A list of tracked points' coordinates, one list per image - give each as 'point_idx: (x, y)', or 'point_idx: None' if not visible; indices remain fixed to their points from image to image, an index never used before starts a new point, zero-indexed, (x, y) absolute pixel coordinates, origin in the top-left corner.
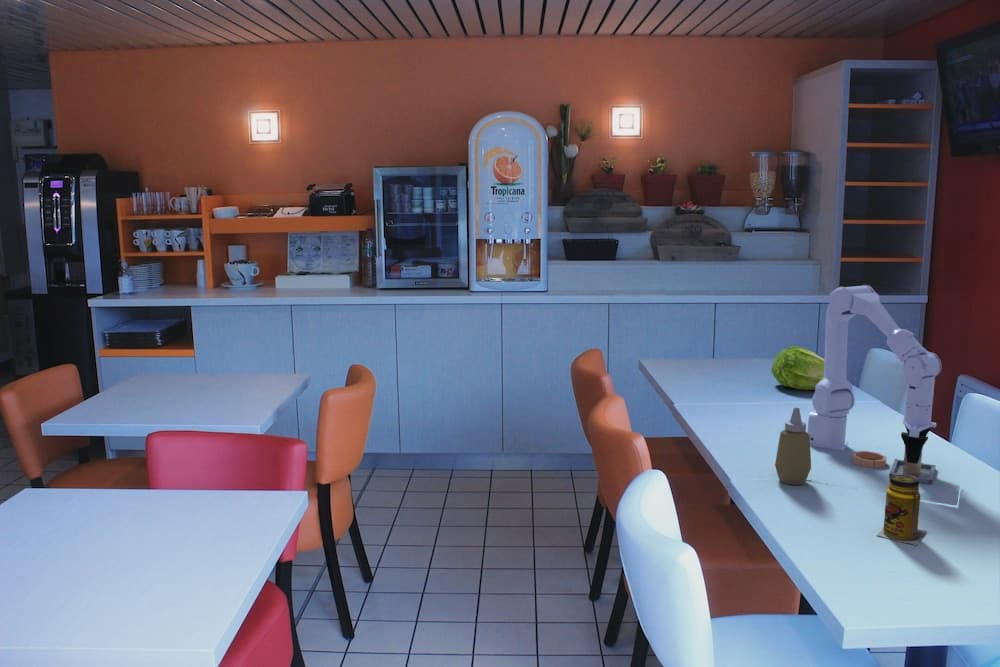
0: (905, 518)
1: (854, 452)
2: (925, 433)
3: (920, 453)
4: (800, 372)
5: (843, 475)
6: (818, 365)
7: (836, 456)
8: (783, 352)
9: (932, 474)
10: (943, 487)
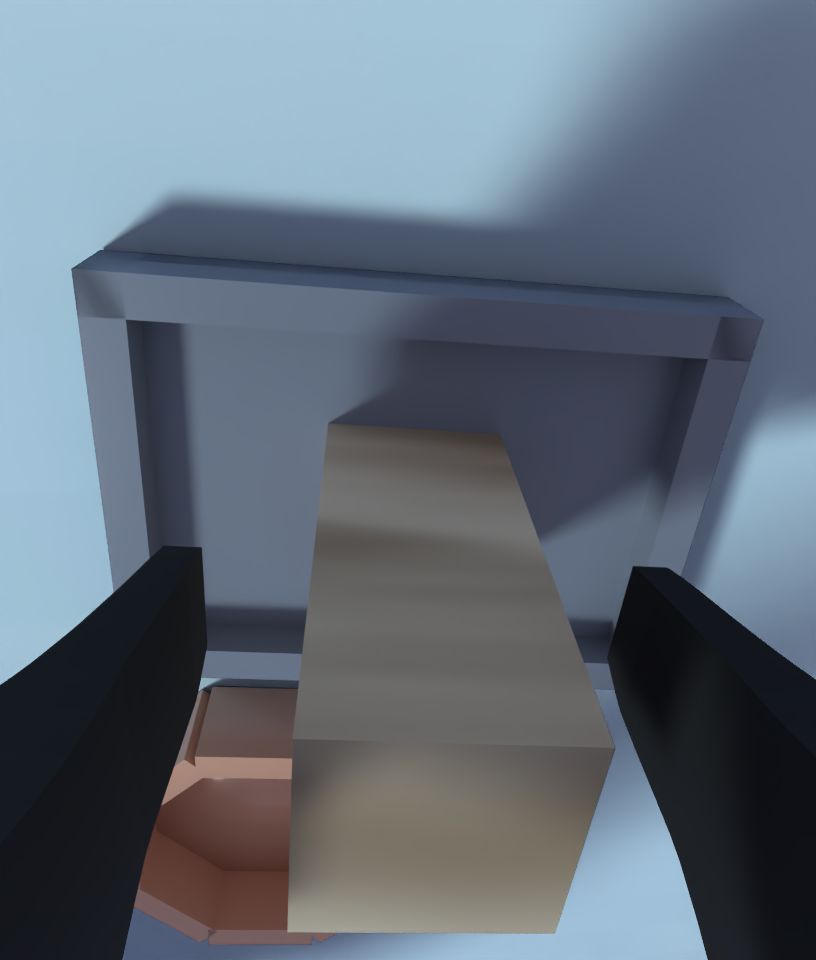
0: None
1: (219, 942)
2: (47, 822)
3: (786, 659)
4: None
5: (632, 880)
6: None
7: (195, 948)
8: None
9: (521, 314)
10: (720, 162)
